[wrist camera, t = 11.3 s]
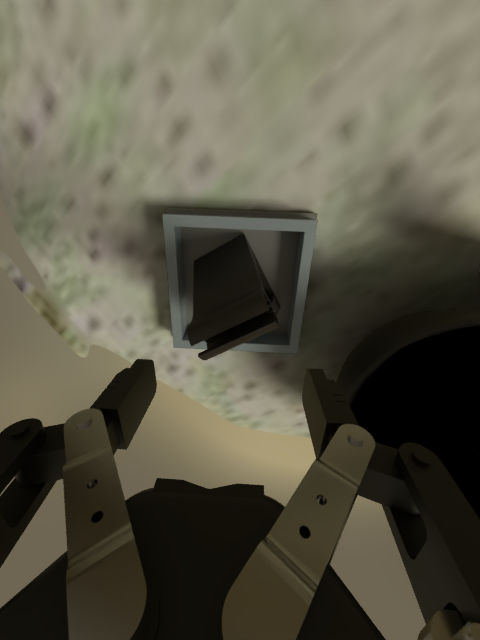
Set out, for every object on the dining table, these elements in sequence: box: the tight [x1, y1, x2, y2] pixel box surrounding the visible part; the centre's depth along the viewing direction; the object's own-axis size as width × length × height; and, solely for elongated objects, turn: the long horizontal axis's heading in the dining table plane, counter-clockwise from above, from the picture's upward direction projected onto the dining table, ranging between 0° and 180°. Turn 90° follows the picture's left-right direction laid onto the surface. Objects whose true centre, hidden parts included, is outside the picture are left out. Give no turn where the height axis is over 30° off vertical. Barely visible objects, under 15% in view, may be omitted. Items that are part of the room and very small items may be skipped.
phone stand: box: [187, 233, 281, 360], centre depth 22 cm, size 9×6×12 cm, turn 28°
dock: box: [162, 208, 318, 354], centre depth 27 cm, size 15×15×3 cm
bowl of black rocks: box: [337, 309, 480, 519], centre depth 24 cm, size 20×20×19 cm
